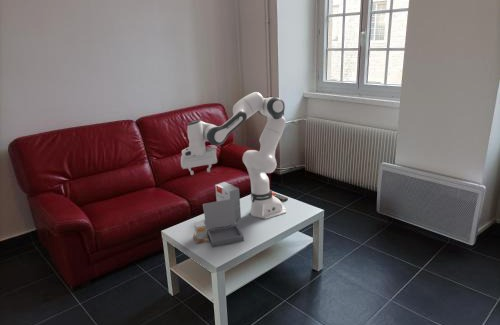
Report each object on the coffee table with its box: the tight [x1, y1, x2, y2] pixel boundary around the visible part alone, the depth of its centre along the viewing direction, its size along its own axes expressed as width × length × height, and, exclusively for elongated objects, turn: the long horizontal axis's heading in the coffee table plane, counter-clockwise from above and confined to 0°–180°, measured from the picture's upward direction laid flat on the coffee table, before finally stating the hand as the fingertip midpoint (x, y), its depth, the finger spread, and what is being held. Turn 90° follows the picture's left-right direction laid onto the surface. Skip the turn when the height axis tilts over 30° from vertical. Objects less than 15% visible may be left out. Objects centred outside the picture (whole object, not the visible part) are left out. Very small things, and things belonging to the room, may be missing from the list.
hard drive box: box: [214, 181, 242, 221], centre depth 220 cm, size 16×8×20 cm, turn 37°
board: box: [193, 233, 210, 245], centre depth 198 cm, size 7×9×1 cm
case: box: [206, 224, 245, 248], centre depth 197 cm, size 17×14×3 cm
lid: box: [202, 199, 237, 230], centre depth 204 cm, size 17×14×1 cm
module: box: [194, 220, 208, 241], centre depth 196 cm, size 5×6×8 cm
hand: (200, 173), depth 205 cm, fingers open, 8 cm apart
